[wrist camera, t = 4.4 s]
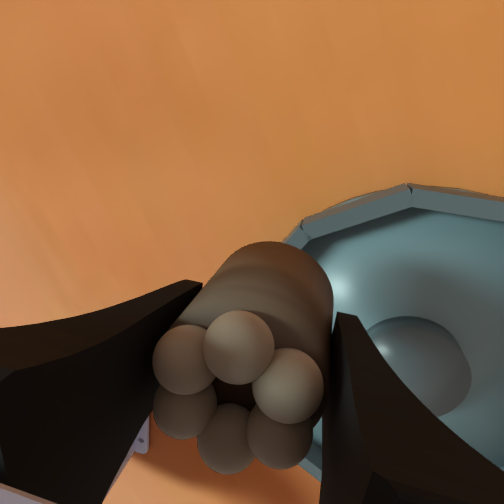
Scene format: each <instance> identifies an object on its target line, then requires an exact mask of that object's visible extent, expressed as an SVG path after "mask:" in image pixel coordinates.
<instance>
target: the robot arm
mask: <svg viewBox="0 0 504 504" xmlns="http://www.w3.org/2000/svg"><path fill="white" fill-rule="evenodd" d="M202 285H203V283H200V282H196V281H191V280H182V281H179V282H176V283H173V284H171V285H168V286H165V287H163V288H160V289H158V290H155V291H153V292H150V293H148V294H145V295H143V296H140V297H137V298H135V299H132V300H129V301H126V302H123V303H120V304H117V305H114V306H112V307H108V308H105V309H102V310H98V311H95V312H91V313H87V314H83V315H79V316H75V317H70V318H65V319H59V320H54V321H49V322H43V323H38V324H31V325H24V326H16V327H7V328H0V504H102V502H103V501H104V499H105V497H106V496H107V494H108V493H109V491H110V489H111V488H112V486H113V485H114V483H115V482H116V480H117V478H118V477H119V475H120V474H121V472H122V470H123V469H124V467H125V466H126V464H127V462H128V461H129V459H130V458H131V456H132V455H133V453H134V451H135V452H138V453H141V454H145V453H147V451H148V449H149V415H150V413H151V411H152V410H153V409H152V408H153V399H154V395H155V393H156V391H157V389H158V387H159V386H160V383H159V382H158V380H157V378H156V376H155V374H154V371H153V365H152V359H153V353H154V349H155V347H156V345H157V343H158V341H159V340H160V338H161V337H162V336H163V335H164V334H165V333H166V332H167V331H168V329H169V328H170V326H171V325H172V324H173V323H174V322H175V321H176V319H177V318H178V317H179V316H180V315H181V313H182V312H183V311H184V310H185V309H186V307H187V306H188V305H189V304H190V303H191V301H192V300H193V299H194V298H195V297H196V296H197V294H198V293H199V292H200V291H201V290H202ZM319 504H504V471H503V470H501V469H500V468H499V467H497V466H496V465H495V464H493V463H492V462H491V461H489V460H488V459H487V458H486V457H484V456H483V455H482V454H480V453H479V452H478V451H476V450H475V449H474V448H472V447H471V446H470V445H469V444H468V443H466V442H465V441H464V440H463V439H461V438H460V437H459V436H458V435H457V434H455V433H454V432H453V431H452V430H451V429H450V428H449V427H448V426H446V425H445V424H444V423H443V422H442V421H441V420H440V419H439V418H437V417H436V416H435V415H434V414H433V413H432V412H431V411H430V410H429V409H428V408H427V407H426V406H425V405H424V404H423V403H422V402H421V401H420V400H419V399H418V398H417V397H416V396H415V395H414V394H413V393H412V392H411V391H410V389H409V388H408V387H407V386H406V385H405V384H404V383H403V382H402V380H401V379H400V378H399V377H398V376H397V374H396V373H395V372H394V371H393V369H392V368H391V367H390V366H389V364H388V363H387V362H386V360H385V359H384V357H383V356H382V354H381V353H380V352H379V350H378V349H377V347H376V346H375V344H374V343H373V341H372V339H371V338H370V336H369V335H368V333H367V331H366V330H365V328H364V326H363V324H362V323H361V321H360V319H359V318H358V316H356V315H352V314H347V313H342V312H337V314H336V318H335V323H334V327H333V331H332V342H331V359H330V376H329V393H328V400H327V405H326V408H325V411H324V413H323V415H322V477H321V489H320V500H319Z"/></svg>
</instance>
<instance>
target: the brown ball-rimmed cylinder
mask: <svg viewBox="0 0 504 504" xmlns="http://www.w3.org/2000/svg"><path fill="white" fill-rule="evenodd" d="M333 308H334V296H333V289H332V286H331V283H330V280H329V278H328V276H327V274H326V273H325V271H324V270H323V268H322V267H321V266H320V265H319V264H318V262H317V261H316V260H314V259H313V258H312V257H311V256H310V255H308V254H307V253H306V252H304V251H302V250H300V249H298V248H297V247H294V246H291V245H289V244H285V243H281V242H272V241H268V242H257V243H253V244H249V245H247V246H244V247H242V248H240V249H239V250H237V251H235V252H234V253H233V254H232V255H231V256H230V257H229V258H228V259H227V260H226V261H225V262H224V263H223V265H222V266H221V267H220V268H219V269H218V271H217V272H216V273H215V274H214V275H213V276H212V278H211V279H210V280H209V281H208V282H207V284H206V285H205V286H204V287H203V288H202V290H201V291H200V292H199V293H198V294H197V296H196V297H195V298H194V299H193V300H192V301H191V303H190V304H189V305H188V306H187V307H186V309H185V310H184V311H183V312H182V313H181V315H180V316H179V317H178V318H177V319H176V321H175V322H174V323H173V324H172V325H171V326H170V328H169V329H168V331H167V332H166V333H165V334H164V335H163V336H162V337H161V338H160V340H159V341H158V343H157V345H156V347H155V349H154V353H153V359H152V365H153V371H154V374H155V376H156V378H157V380H158V382H159V383H160V386H159V387H158V389H157V391H156V393H155V395H154V399H153V408H152V409H153V416H154V419H155V422H156V424H157V425H158V427H159V428H160V430H161V431H162V432H163V433H165V434H166V435H168V436H169V437H172V438H175V439H182V440H184V439H190V438H193V437H196V436H197V446H198V450H199V453H200V456H201V458H202V460H203V461H204V462H205V464H206V465H207V466H208V467H209V468H210V469H212V470H213V471H215V472H218V473H221V474H235V473H238V472H241V471H242V470H244V469H245V468H247V467H248V466H249V465H250V464H251V463H252V461H253V460H254V459H255V457H256V458H257V459H258V460H259V461H260V462H261V463H263V464H264V465H266V466H268V467H271V468H274V469H288V468H291V467H293V466H295V465H297V464H298V463H300V462H301V461H302V460H303V459H304V458H305V457H306V455H307V454H308V452H309V450H310V448H311V445H312V440H313V428H314V427H315V426H316V424H317V423H318V422H319V421H320V419H321V417H322V415H323V413H324V411H325V408H326V405H327V400H328V393H329V376H330V359H331V342H332V325H333Z"/></svg>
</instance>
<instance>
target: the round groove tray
mask: <svg viewBox="0 0 504 504" xmlns="http://www.w3.org/2000/svg"><path fill="white" fill-rule="evenodd" d="M281 243H285V244H289V245H291V246H294V247H297V248H298V249H300V250H302V251H304V252H306V253H307V254H308V255H310V256H311V257H312V258H313V259H314V260H316V261H317V262H318V264H319V265H320V266H321V267H322V268H323V270H324V271H325V273H326V274H327V276H328V278H329V280H330V283H331V286H332V289H333V296H334V308H333V325H332V331H333V327H334V323H335V318H336V314H337V312H342V313H347V314H352V315H356V316H358V318H359V319H360V321H361V323H362V324H363V326H364V328H365V330H366V331H367V333H368V335H369V336H370V338H371V339H372V341H373V343H374V344H375V346H376V347H377V349H378V350H379V352H380V353H381V354H382V356H383V357H384V359H385V360H386V362H387V363H388V364H389V366H390V367H391V368H392V369H393V371H394V372H395V373H396V374H397V376H398V377H399V378H400V379H401V380H402V382H403V383H404V384H405V385H406V386H407V387H408V388H409V389H410V391H411V392H412V393H413V394H414V395H415V396H416V397H417V398H418V399H419V400H420V401H421V402H422V403H423V404H424V405H425V406H426V407H427V408H428V409H429V410H430V411H431V412H432V413H433V414H434V415H435V416H436V417H437V418H439V419H440V420H441V421H442V422H443V423H444V424H445V425H446V426H448V427H449V428H450V429H451V430H452V431H453V432H454V433H455V434H457V435H458V436H459V437H460V438H461V439H463V440H464V441H465V442H466V443H468V444H469V445H470V446H471V447H472V448H474V449H475V450H476V451H478V452H479V453H480V454H482V455H483V456H484V457H486V458H487V459H488V460H489V461H491V462H492V463H493V464H495V465H496V466H497V467H499V468H500V469H501V470H503V471H504V197H498V196H492V195H487V194H483V193H478V192H474V191H469V190H464V189H460V188H449V187H438V186H425V185H418V184H412V183H407V185H406V184H405V183H403V184H401V185H398V186H395V187H392V188H389V189H386V190H380V191H375V192H372V193H368V194H364V195H361V196H357V197H354V198H351V199H348V200H346V201H344V202H341V203H339V204H336V205H334V206H332V207H329V208H327V209H326V210H324V211H322V212H320V213H317V214H314V215H311V216H308V217H305V218H304V220H303V219H302V220H301V221H300V223H299V224H298V225H297V226H296V227H295V228H294V230H293V231H292V232H291V233H290V234H289V235H288V236H287V237H286V238H285V239H284V240H283V241H282V242H281ZM298 465H299V466H301V467H302V468H303V469H304V470H306V471H307V472H308V473H309V474H311V475H312V476H313V477H315V478H316V479H317V480H318V481H320V482H321V477H322V417H321V419H320V421H319V422H318V423H317V424H316V426H315V427H314V428H313V440H312V445H311V448H310V450H309V452H308V454H307V455H306V457H305V458H304V459H303V460H302V461H301V462H300V463H298Z"/></svg>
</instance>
